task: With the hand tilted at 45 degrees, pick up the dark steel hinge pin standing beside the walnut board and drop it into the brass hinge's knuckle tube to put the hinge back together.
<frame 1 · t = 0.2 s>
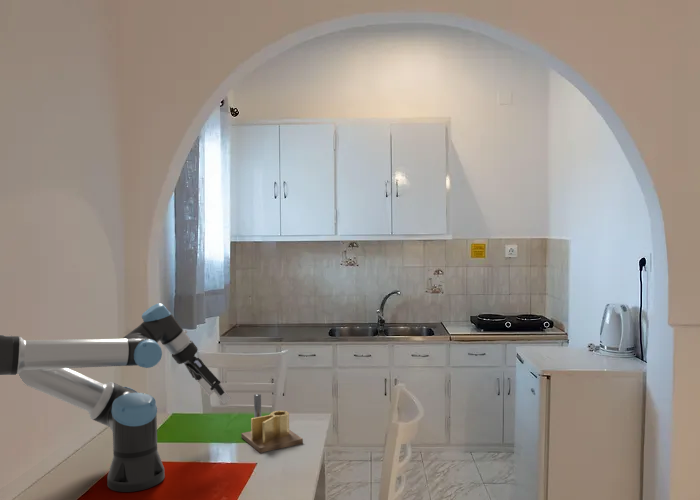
hand: (219, 397, 193), 16 cm above the table, tool tilted 35°, fingers open, 13 cm apart
brass hinge: (279, 434, 199), resting on walnut board
hinge pin: (258, 428, 209), on the table
walnut board: (271, 440, 198), on the table
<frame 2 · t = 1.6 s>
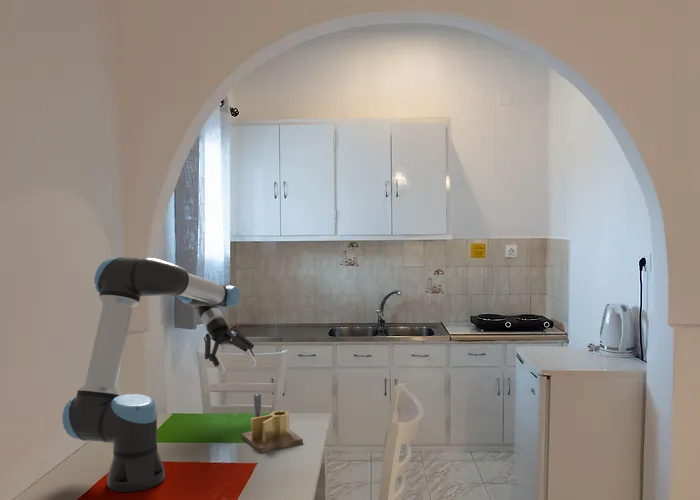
hand: (239, 369, 216), 19 cm above the table, tool tilted 45°, fingers open, 13 cm apart
nothing on the table moved.
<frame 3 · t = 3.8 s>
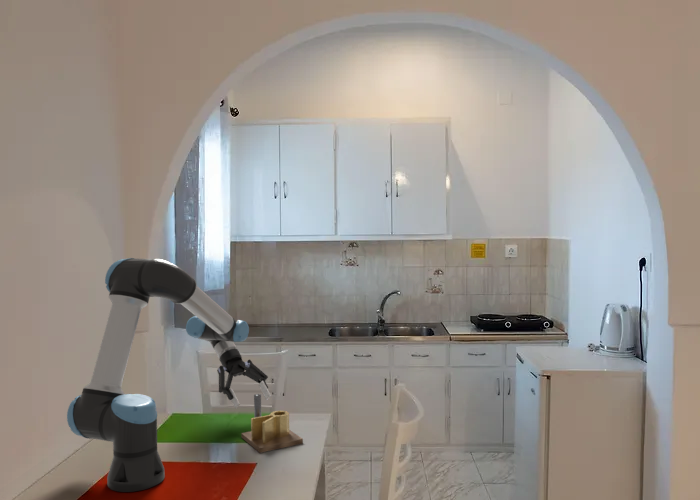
hand: (253, 402, 212), 9 cm above the table, tool tilted 45°, fingers open, 13 cm apart
nothing on the table moved.
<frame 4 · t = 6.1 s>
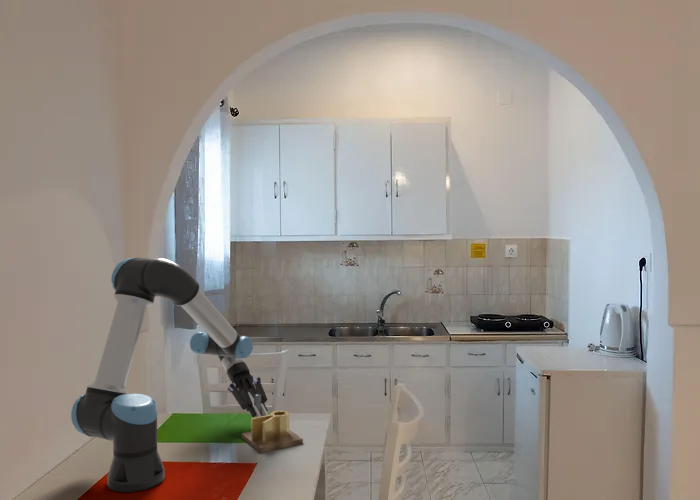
hand: (264, 422, 206), 3 cm above the table, tool tilted 45°, fingers closed on hinge pin, 2 cm apart
hinge pin: (258, 428, 209), on the table, touching gripper
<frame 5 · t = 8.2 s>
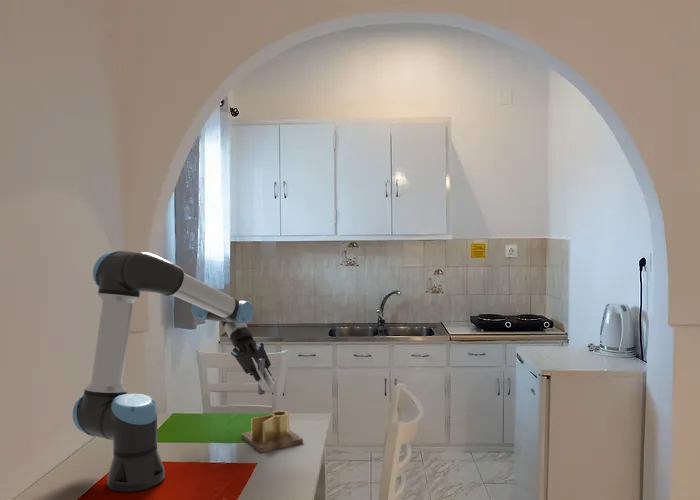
hand: (268, 386, 204), 16 cm above the table, tool tilted 45°, fingers closed on hinge pin, 2 cm apart
hinge pin: (261, 393, 207), point 13 cm above the table, touching gripper
when the fingers open (13 cm above the table, at t = 10.3 s): hinge pin drops 8 cm, resting on walnut board.
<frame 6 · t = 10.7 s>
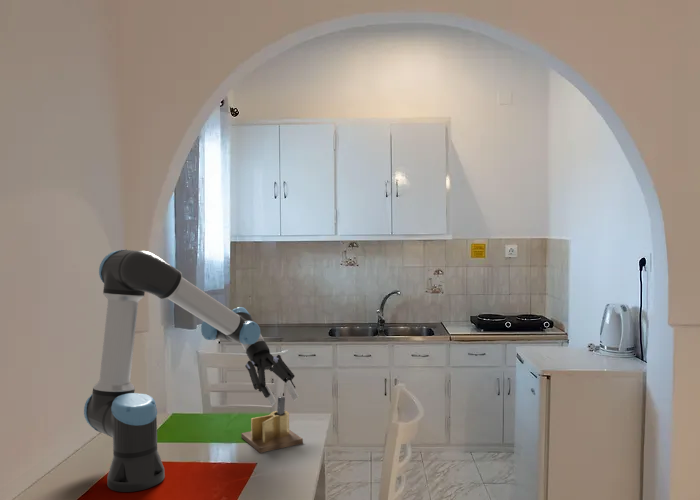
hand: (285, 401, 196), 13 cm above the table, tool tilted 45°, fingers open, 8 cm apart
hinge pin: (279, 433, 199), point 2 cm above the table, tilted 5°, touching walnut board
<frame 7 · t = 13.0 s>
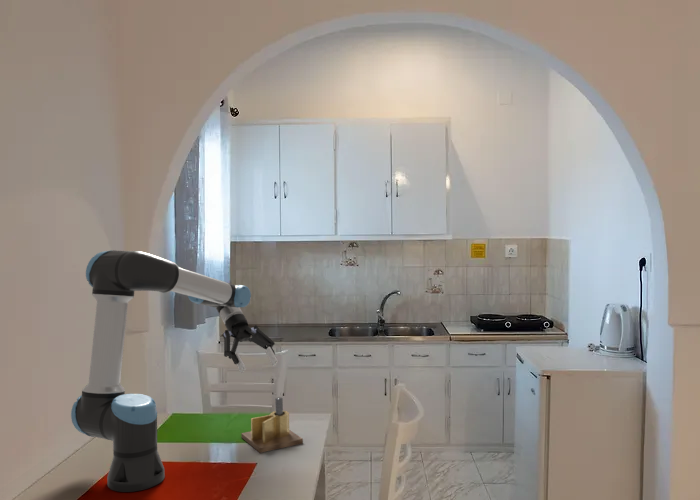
hand: (260, 367, 205), 22 cm above the table, tool tilted 45°, fingers open, 13 cm apart
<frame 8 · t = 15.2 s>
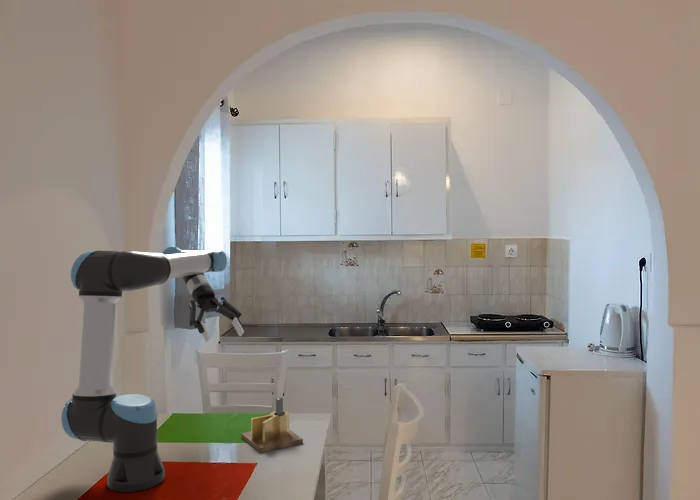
hand: (225, 336, 207), 33 cm above the table, tool tilted 45°, fingers open, 13 cm apart
nothing on the table moved.
at the end: hinge pin 0.0 cm off-centre on the brass hinge, point 0.0 cm above the brass hinge's base; hinge pin tilted 1°; the gripper is holding nothing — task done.
